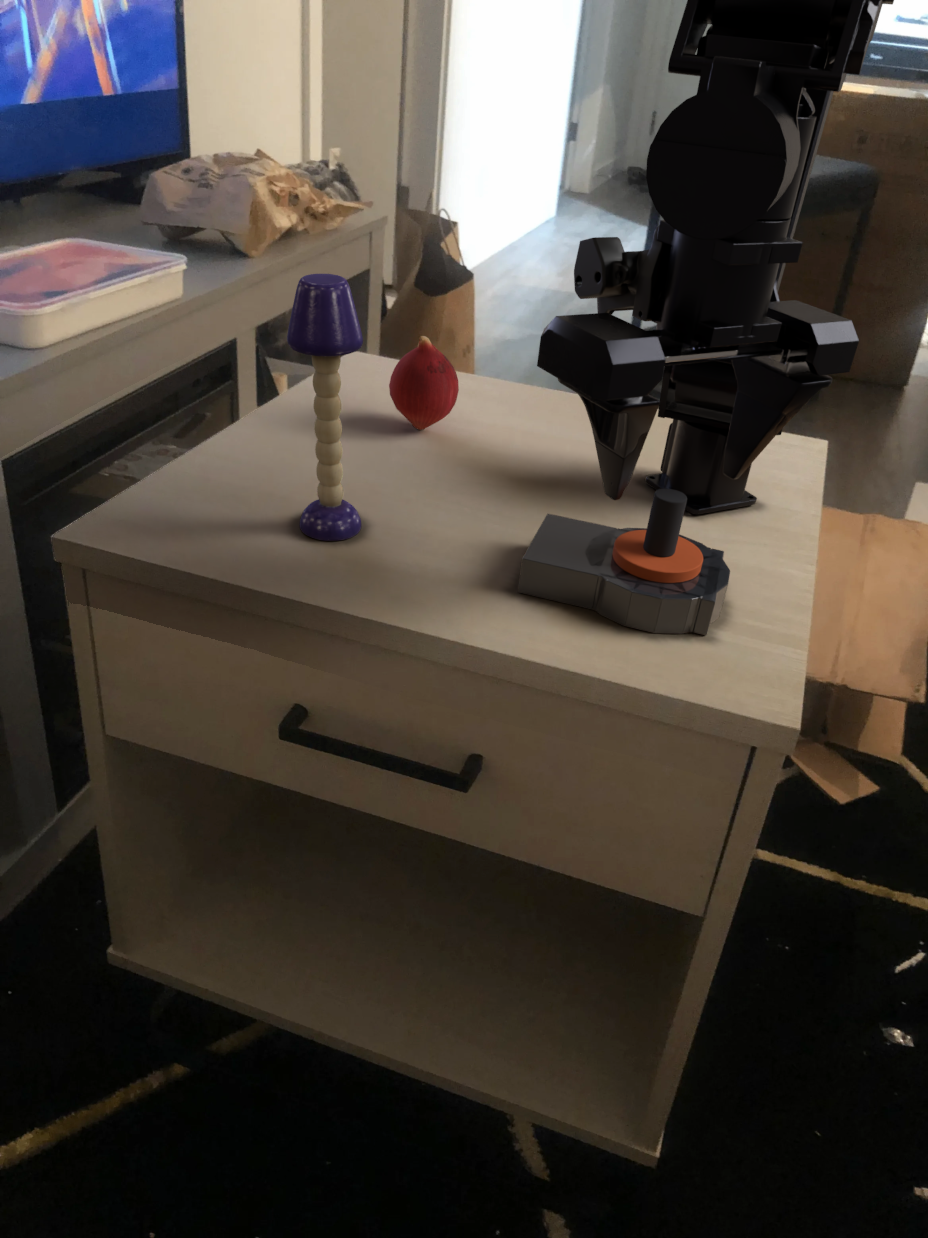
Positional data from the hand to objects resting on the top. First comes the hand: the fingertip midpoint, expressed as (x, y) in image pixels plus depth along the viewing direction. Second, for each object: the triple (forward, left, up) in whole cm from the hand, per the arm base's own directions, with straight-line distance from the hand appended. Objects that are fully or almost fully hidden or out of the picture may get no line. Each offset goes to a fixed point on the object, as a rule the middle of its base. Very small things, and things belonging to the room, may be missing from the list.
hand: (673, 486), depth 57 cm
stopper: (0, 0, -7) cm, 7 cm away
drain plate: (+1, +1, -8) cm, 8 cm away
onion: (+30, +2, -8) cm, 31 cm away
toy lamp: (+15, +16, -8) cm, 24 cm away
